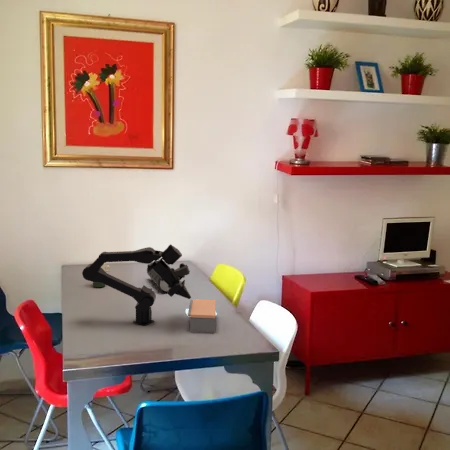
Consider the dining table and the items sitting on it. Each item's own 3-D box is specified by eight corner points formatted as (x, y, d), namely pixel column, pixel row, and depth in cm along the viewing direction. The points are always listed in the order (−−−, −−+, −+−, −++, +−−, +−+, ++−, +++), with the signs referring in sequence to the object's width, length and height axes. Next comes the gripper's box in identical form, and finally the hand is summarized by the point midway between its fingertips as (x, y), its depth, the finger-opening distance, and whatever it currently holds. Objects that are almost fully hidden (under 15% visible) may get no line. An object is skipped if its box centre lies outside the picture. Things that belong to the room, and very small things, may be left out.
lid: (187, 317, 213) (187, 314, 213) (190, 301, 233) (190, 299, 233) (214, 318, 213) (215, 315, 213) (215, 302, 233) (215, 300, 233)
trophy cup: (109, 284, 278) (109, 260, 276) (109, 288, 271) (109, 263, 269) (88, 285, 276) (88, 261, 274) (88, 289, 269) (87, 264, 267)
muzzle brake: (163, 279, 292) (163, 260, 290) (176, 293, 266) (177, 273, 264) (146, 280, 288) (146, 261, 287) (158, 295, 263) (158, 275, 261)
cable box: (190, 332, 214) (190, 318, 213) (193, 308, 243) (194, 296, 242) (214, 332, 214) (215, 318, 213) (215, 309, 243) (215, 296, 242)
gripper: (176, 264, 210) (203, 292, 212) (180, 254, 228) (204, 279, 230) (156, 282, 211) (183, 310, 213) (161, 271, 230) (186, 296, 232)
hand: (190, 298), depth 222 cm, fingers closed
